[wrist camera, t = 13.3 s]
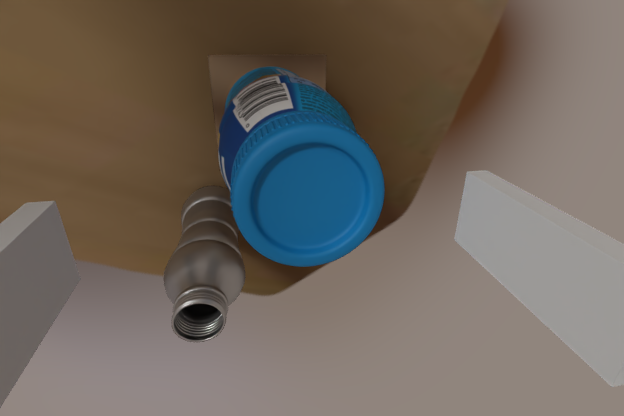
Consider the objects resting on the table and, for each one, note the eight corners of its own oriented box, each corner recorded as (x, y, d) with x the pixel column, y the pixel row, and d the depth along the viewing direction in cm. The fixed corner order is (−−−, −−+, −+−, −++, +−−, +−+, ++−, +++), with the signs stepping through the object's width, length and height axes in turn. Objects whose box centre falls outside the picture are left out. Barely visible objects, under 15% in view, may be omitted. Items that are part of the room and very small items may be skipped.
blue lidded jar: (327, 77, 33) (436, 126, 15) (304, 166, 36) (372, 294, 18) (231, 52, 31) (226, 74, 13) (216, 149, 34) (194, 276, 16)
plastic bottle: (172, 197, 42) (125, 315, 24) (223, 169, 42) (214, 267, 24) (204, 239, 45) (184, 371, 27) (252, 213, 45) (264, 329, 27)
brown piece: (212, 52, 37) (207, 55, 30) (311, 52, 39) (326, 55, 32) (222, 150, 41) (220, 171, 35) (311, 146, 43) (324, 165, 36)
